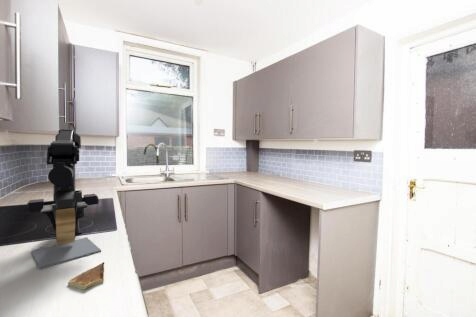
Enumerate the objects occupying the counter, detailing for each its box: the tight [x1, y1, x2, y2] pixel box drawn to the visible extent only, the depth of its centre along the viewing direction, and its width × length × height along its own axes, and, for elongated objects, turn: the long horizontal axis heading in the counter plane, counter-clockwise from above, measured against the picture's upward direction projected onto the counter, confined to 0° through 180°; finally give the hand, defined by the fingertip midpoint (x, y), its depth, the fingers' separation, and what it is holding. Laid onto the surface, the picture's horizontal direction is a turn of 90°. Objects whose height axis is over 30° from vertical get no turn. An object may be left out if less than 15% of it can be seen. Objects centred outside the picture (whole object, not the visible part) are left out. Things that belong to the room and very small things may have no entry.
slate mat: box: [30, 236, 102, 270], centre depth 80 cm, size 16×16×1 cm
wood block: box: [55, 208, 76, 245], centre depth 81 cm, size 5×5×13 cm
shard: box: [67, 261, 105, 291], centre depth 65 cm, size 11×8×2 cm
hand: (65, 228), depth 80 cm, fingers closed on wood block, 5 cm apart
